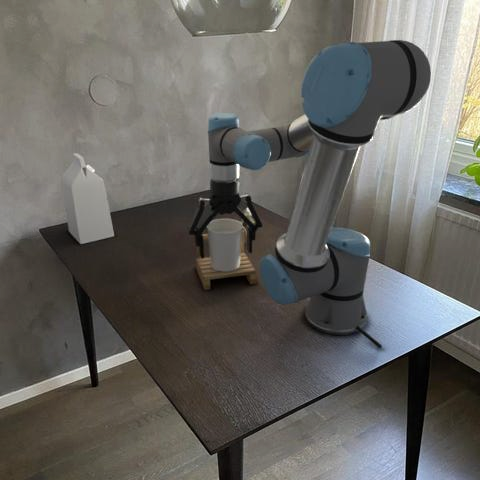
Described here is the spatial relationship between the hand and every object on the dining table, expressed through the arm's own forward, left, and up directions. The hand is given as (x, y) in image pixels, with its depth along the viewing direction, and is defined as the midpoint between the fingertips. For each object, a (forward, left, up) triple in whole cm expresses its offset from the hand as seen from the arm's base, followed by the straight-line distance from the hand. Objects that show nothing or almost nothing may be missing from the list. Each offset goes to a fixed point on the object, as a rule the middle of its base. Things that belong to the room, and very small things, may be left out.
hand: (225, 253), depth 142 cm
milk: (+41, +37, -8) cm, 55 cm away
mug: (+23, -8, -8) cm, 25 cm away
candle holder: (0, 0, -4) cm, 4 cm away
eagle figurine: (+35, -15, -8) cm, 38 cm away
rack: (+1, 0, -8) cm, 8 cm away
